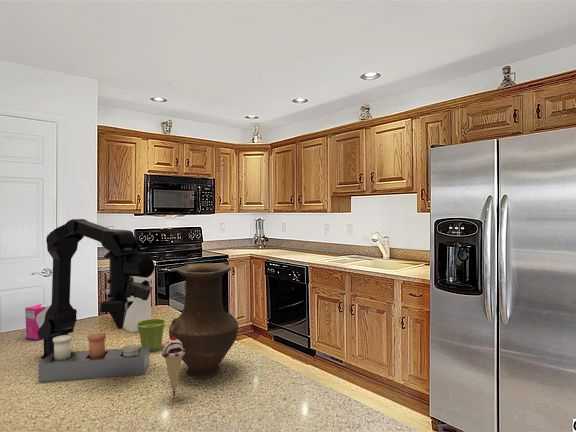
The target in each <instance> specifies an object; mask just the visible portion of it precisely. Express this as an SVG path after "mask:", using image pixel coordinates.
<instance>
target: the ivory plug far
mask: <svg viewBox="0 0 576 432" xmlns="http://www.w3.org/2000/svg"><path fill="white" fill-rule="evenodd" d="M139 347H140V345H137V344H130V345H129V344H128V345H125V346H123V347H121V349H122V352H123V356H133V355H138V350H139Z"/></svg>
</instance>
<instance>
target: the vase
mask: <svg viewBox="0 0 576 432" xmlns="http://www.w3.org/2000/svg"><path fill="white" fill-rule="evenodd" d="M231 270H232V267H231V265H229V264H224V263H191V264H188V265H183V266H179V267H177V268H176V272H177V274H180V275H183V276H184V278H185V279H184V280H185V284H184V286H185V288H184V289H185V294H184V295H185V296H184V306H183V309H182V311H181V314H180V315H179V316H178V317H177V318H173V319H172V320H171V323H170V325H169V327H168V336H169V337H168V338H169V340H170V339H171V338H172V337H175V338H176V339H178V340H181V343H182V345H183V348H184V349H185V351H186V352H185V354H184V355H183V356H182V362H183V363H184V364H185V365H186V367H187V369H186V371H185V374H186V376H187V377H188V378H193V379H206V378H210V377H215V376H216V375H218V373H219V372H220V370H221V369H222V368H221V366H220V364H221V363H222V361H223V360H224V358H225V357H226V355H227V354H228V353H229V352H230V349H231V348H232V347H233V345H234V344H235V341H236V339H237V337H238V333H239V322H238V320H237V319H236V318H235V317H234V316H233V315H232V314H231V313H229V312H226V311H225V309H224V305H223V276H224V274H226V273H228V272H230V271H231Z"/></svg>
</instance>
